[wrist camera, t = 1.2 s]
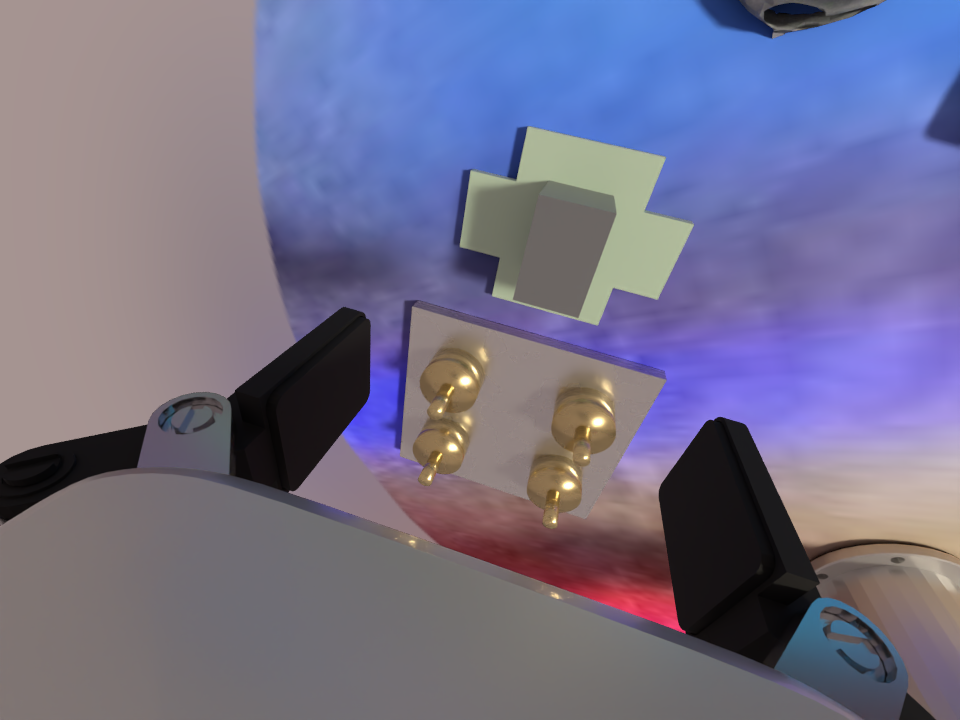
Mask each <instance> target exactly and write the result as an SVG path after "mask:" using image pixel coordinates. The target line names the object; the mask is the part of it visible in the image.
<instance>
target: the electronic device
mask: <svg viewBox="0 0 960 720" xmlns="http://www.w3.org/2000/svg"><path fill="white" fill-rule="evenodd" d="M739 1H740V2H741V3H742V5H743V6H744V7H745V8H746V9H747V10H748V11H749V12H750V13H751V14H753V15H754V16H755V17H757V18H758V19H760V20H761V21H763V22H764V23H765V24H767V25H768V26H770V27H772V28H773V30H774V31H773V32H774V33H773V36H772V39H773V38H776V37H779V36H781V35H783V34H785V33H787V32H792V31H797V30H803V29H808V28H813V27H818V26H822V25H825V24H829V23H832V22H835V21H839V20H842V19H846V18H849V17H852V16H854V15H856V14H858V13H860V12H863V11H865V10H867V9H869V8H872V7H875V6H877V5H879V4H880V3H882V2H884V1H886V0H739ZM784 3H801V4H805V5H810V6H814V7H817V8H819V9H820V10H822V11H823V12H816V13H813V14H794V15H792V14H787V13H778V14H776V13H775V11H773V10H771V9H769V8H771V7H773V6H776V5H780V4H784Z"/></svg>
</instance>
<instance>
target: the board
mask: <svg viewBox="0 0 960 720" xmlns="http://www.w3.org/2000/svg"><path fill="white" fill-rule="evenodd" d="M665 159H666V157H665V156H661V155H657V154H652V153H648V152H643V151H639V150H634V149H630V148H625V147H621V146H616V145H612V144H607V143H603V142H598V141H594V140H589V139H585V138H581V137H576V136H572V135H567V134H563V133H558V132H554V131H549V130H545V129H540V128H536V127H531V126H528V128H527V133H526V138H525V142H524V147H523V152H522V156H521V161H520V166H519V171H518V175H517V179H513V178H509V177H505V176H501V175H497V174H493V173H488V172H484V171H480V170H476V169H473V170H471V173H470V180H469V186H468V193H467V200H466V207H465V214H464V220H463V227H462V234H461V241H460V247H462V248H466V249H470V250H473V251H477V252H481V253H485V254H488V255H492V256H496V257H500V260H499V265H498V270H497V274H496V279H495V284H494V289H493V293H492V296H494V297H497V298H501V299H505V300H508V301H512V302H515V303H519V304H522V305H526V306H530V307H533V308H537V309H540V310H544V311H548V312H551V313H555V314H558V315H562V316H565V317H569V318H573V319H576V320H580V321H583V322H587V323H591V324H594V325H598V324H599V321H600V319H601V316H602V314H603V311H604V309H605V306H606V304H607V301H608V299H609V297H610V294H611V292H612V289H613V288H616V289H620V290H624V291H627V292H631V293H635V294H639V295H642V296H646V297H650V298H654V299H657V300H658V298H659V295H660V293H661V291H662V289H663V287H664V285H665V283H666V281H667V279H668V277H669V275H670V273H671V271H672V269H673V267H674V265H675V263H676V261H677V259H678V257H679V255H680V252H681V250H682V248H683V246H684V244H685V242H686V240H687V238H688V236H689V234H690V232H691V230H692V228H693V226H694V224H693V223H692V221H688V220H684V219H679V218H675V217H671V216H667V215H663V214H659V213H654V212H650V211H646V210H645V208H646V205H647V203H648V201H649V198H650V196H651V193H652V191H653V188H654V186H655V183H656V181H657V178H658V176H659V173H660V171H661V169H662V166H663V164H664V161H665Z"/></svg>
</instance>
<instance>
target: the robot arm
mask: <svg viewBox="0 0 960 720" xmlns="http://www.w3.org/2000/svg"><path fill="white" fill-rule="evenodd" d="M370 327H371V325H370V320H369V319H366V316H365V314H364V313H363V312H360V311H357V310H353V309H350V308H347V307H343V308H341V309H339V310H338V311H337V312H336V313H334V314H333V315H332V316H330V317H329V318H328V319H326V320H325V321H324V322H323V323H321V324H320V325H319V326H317V327H316V328H315V329H314V330H312V331H311V332H310V333H308V334H307V335H306V336H304V337H303V338H302V339H301V340H299V341H298V342H297V343H295V344H294V345H293V346H292V347H290V348H289V349H288V350H286V351H285V352H284V353H282V354H281V355H280V356H279V357H277V358H276V359H275V360H274V361H272V362H271V363H270V364H268V365H267V366H266V367H264V368H263V369H262V370H261V371H259V372H258V373H257V374H255V375H254V376H253V377H252V378H250V379H249V380H248V381H246V382H245V383H244V384H242V385H241V386H240V387H239V388H237V389H236V390H235V393H234V394H232V395H231V396H230V397H228V398H227V399H226V398H225V397H223V396H221V395H219V394H216V393H209V392H198V393H191V394H186V395H182V396H179V397H177V398H174V399H172V400H169V401H168V402H166V403H165V404H163V405H161V406H160V407H159V408H158V409H157V410H155V411H154V412H153V413H152V415H151V417H150V419H149V421H148V425H143V426H138V427H134V428H128V429H124V430H118V431H113V432H109V433H103V434H99V435H94V436H89V437H84V438H79V439H74V440H69V441H64V442H59V443H54V444H49V445H44V446H41V447H37V448H33V449H30V450H27V451H25V452H22V453H20V454H17V455H15V456H13V457H11V458H9V459H7V460H6V461H4V462H2V463H1V464H0V720H960V559H959V558H957V557H954V556H952V555H950V554H947V553H944V552H941V551H938V550H934V549H930V548H925V547H920V546H914V545H904V544H870V545H859V546H854V547H848V548H843V549H840V550H836V551H833V552H830V553H827V554H825V555H823V556H821V557H818V558H816V559H815V560H813V561H812V562H810V560H809V558H808V556H807V554H806V552H805V549H804V547H803V545H802V543H801V541H800V539H799V537H798V534H797V532H796V530H795V528H794V526H793V524H792V522H791V520H790V517H789V515H788V513H787V511H786V509H785V507H784V505H783V502H782V500H781V498H780V496H779V494H778V492H777V490H776V488H775V485H774V483H773V481H772V479H771V477H770V475H769V473H768V470H767V468H766V466H765V464H764V462H763V460H762V458H761V456H760V453H759V451H758V449H757V447H756V445H755V443H754V441H753V438H752V436H751V434H750V432H749V430H748V428H747V426H746V425H745V424H743V423H740V422H736V421H733V420H730V419H726V418H723V417H718V418H716V419H715V420H714V421H713V420H708V421H707V422H706V423H705V424H704V425H703V427H702V428H701V429H700V431H699V432H698V434H697V435H696V436H695V438H694V439H693V441H692V442H691V443H690V445H689V446H688V448H687V449H686V450H685V452H684V453H683V455H682V456H681V457H680V459H679V460H678V462H677V463H676V464H675V466H674V467H673V468H672V470H671V471H670V473H669V474H668V475H667V477H666V478H665V480H664V481H663V482H662V484H661V486H660V489H659V502H660V508H661V515H662V521H663V528H664V534H665V540H666V547H667V553H668V560H669V566H670V572H671V579H672V585H673V592H674V598H675V605H676V611H677V617H678V622H679V625H680V627H681V629H682V630H685V631H686V634H684V633H682V632H679V631H677V630H674V629H671V628H669V627H666V626H663V625H661V624H658V623H655V622H652V621H649V620H647V619H644V618H641V617H638V616H636V615H633V614H630V613H627V612H625V611H622V610H619V609H616V608H614V607H611V606H608V605H605V604H602V603H600V602H597V601H594V600H591V599H589V598H586V597H583V596H580V595H578V594H575V593H572V592H569V591H566V590H564V589H561V588H558V587H555V586H553V585H550V584H547V583H544V582H541V581H539V580H536V579H533V578H530V577H527V576H525V575H522V574H519V573H516V572H513V571H511V570H508V569H505V568H502V567H499V566H497V565H494V564H491V563H488V562H485V561H483V560H480V559H477V558H474V557H471V556H469V555H466V554H463V553H460V552H457V551H454V550H452V549H449V548H446V547H443V546H440V545H438V544H435V543H432V542H429V541H426V540H423V539H421V538H418V537H415V536H412V535H409V534H406V533H403V532H400V531H398V530H395V529H392V528H389V527H386V526H383V525H380V524H378V523H375V522H372V521H369V520H366V519H363V518H360V517H358V516H355V515H352V514H349V513H346V512H343V511H341V510H338V509H335V508H332V507H329V506H326V505H323V504H320V503H317V502H314V501H311V500H308V499H305V498H302V497H299V496H296V495H293V494H290V493H288V492H289V491H295V490H296V489H298V488H299V486H300V485H301V484H302V483H303V481H304V480H305V479H306V478H307V476H308V475H309V474H310V473H311V471H312V470H313V469H314V468H315V466H316V465H317V464H318V463H319V461H320V460H321V459H322V457H323V456H324V455H325V454H326V452H327V451H328V450H329V449H330V447H331V446H332V445H333V444H334V442H335V441H336V440H337V439H338V437H339V436H340V435H341V434H342V432H343V431H344V430H345V428H346V427H347V426H348V425H349V423H350V422H351V421H352V420H353V418H354V417H355V416H356V415H357V413H358V412H359V411H360V410H361V408H362V407H363V406H364V404H365V403H366V402H367V400H368V397H369V394H370Z"/></svg>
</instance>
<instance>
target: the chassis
mask: <svg viewBox="0 0 960 720" xmlns="http://www.w3.org/2000/svg"><path fill="white" fill-rule="evenodd" d="M666 380H667V379H666V375H665V371H663V370H659V369H656V368H652V367H649V366H645V365H642V364H638V363H635V362H631V361H628V360H624V359H621V358H617V357H614V356H610V355H607V354H603V353H600V352H596V351H593V350H589V349H586V348H582V347H579V346H575V345H572V344H568V343H565V342H561V341H558V340H555V339H551V338H548V337H544V336H541V335H537V334H534V333H530V332H527V331H523V330H520V329H516V328H513V327H509V326H506V325H502V324H499V323H495V322H492V321H488V320H485V319H481V318H478V317H474V316H471V315H467V314H464V313H460V312H457V311H453V310H450V309H446V308H443V307H440V306H436V305H433V304H429V303H426V302H422V301H419V300H418V301H417V302H416V303H415V304H414V305H413V306H412V315H411V327H410V340H409V352H408V364H407V377H406V389H405V401H404V413H403V426H402V438H401V450H400V457H403V458H406V459H409V460H412V461H415V462H418V463H420V464H421V465H422V466H423V467H424V468H423V470H422V472H421V474H420V476H419V478H418V481H419V482H420V483H421V484H422V485H424V486H430V485H431V483H432V481H433V479H434V477H435V474H436V473H439V474H454V475H456V476H459V477H462V478H465V479H468V480H471V481H474V482H477V483H480V484H483V485H486V486H489V487H492V488H495V489H498V490H501V491H504V492H507V493H510V494H513V495H516V496H519V497H521V498H524V499H527V500H530V501H532V502H533V503H534V504H535V505H536V506H538V507H540V508H542V509H544V516H543V525H544V526H545V527H546V528H549V529H554V528H556V527H557V523H558V514H559V513H563V512H566V513H569V514H572V515H575V516H578V517H581V518H584V519H586V518H587V516H588V514H589V513H590V511H591V509H592V508H593V506H594V504H595V502H596V501H597V499H598V497H599V496H600V494H601V492H602V490H603V489H604V487H605V485H606V484H607V482H608V480H609V478H610V477H611V475H612V473H613V471H614V470H615V468H616V466H617V465H618V463H619V461H620V459H621V458H622V456H623V454H624V453H625V451H626V449H627V447H628V446H629V444H630V442H631V441H632V439H633V437H634V435H635V434H636V432H637V430H638V428H639V427H640V425H641V423H642V422H643V420H644V418H645V416H646V415H647V413H648V411H649V410H650V408H651V406H652V404H653V403H654V401H655V399H656V398H657V396H658V394H659V392H660V391H661V389H662V387H663V385H664V384H665V382H666Z"/></svg>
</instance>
